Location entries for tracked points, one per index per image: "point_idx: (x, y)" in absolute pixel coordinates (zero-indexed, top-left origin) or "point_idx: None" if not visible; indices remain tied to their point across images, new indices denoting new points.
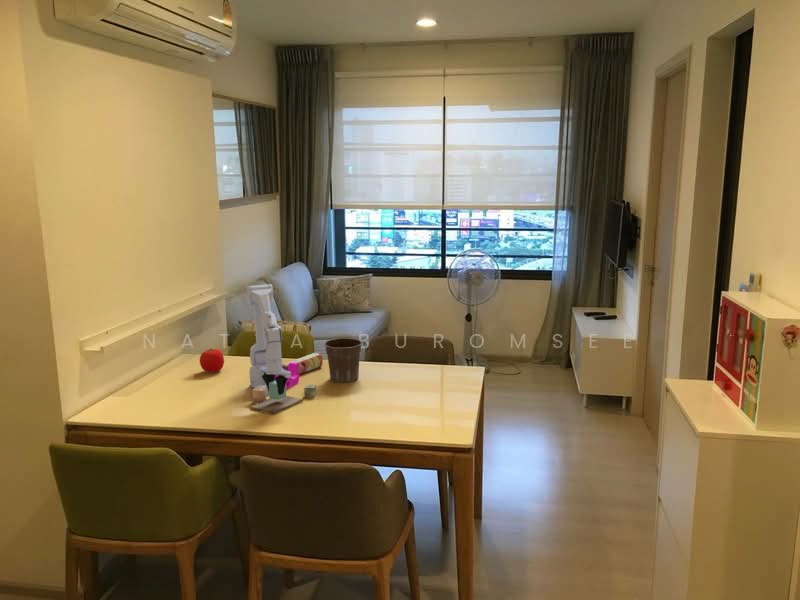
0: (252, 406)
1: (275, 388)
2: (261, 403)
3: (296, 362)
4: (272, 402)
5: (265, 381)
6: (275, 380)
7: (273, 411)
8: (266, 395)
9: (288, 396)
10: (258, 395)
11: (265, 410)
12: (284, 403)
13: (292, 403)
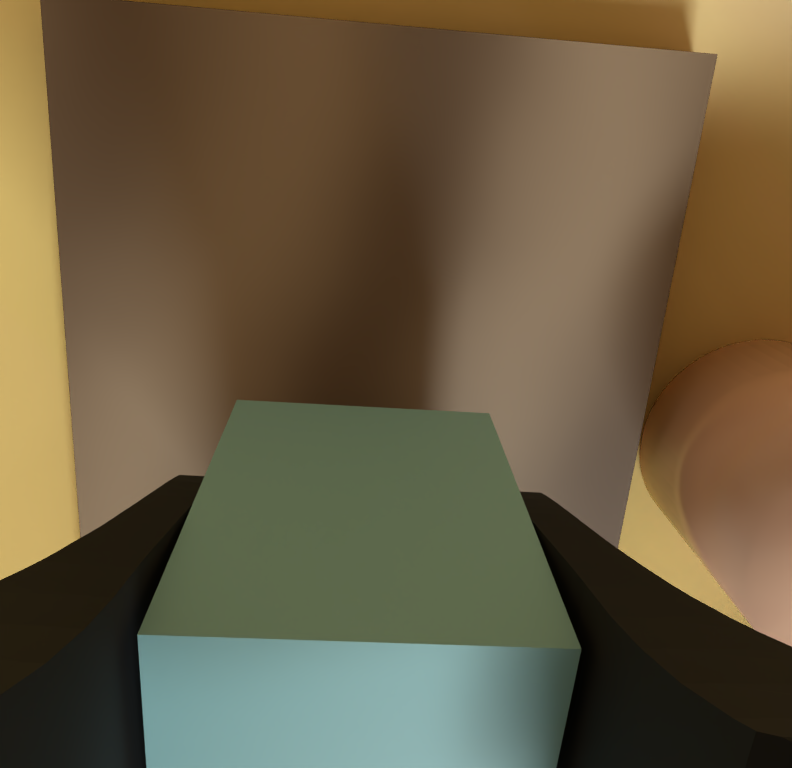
0: (680, 80)
1: (274, 539)
2: (606, 295)
3: None
4: None
5: (722, 636)
6: (19, 679)
7: (75, 23)
8: None
9: None
10: (784, 410)
11: (287, 16)
12: None
13: (87, 524)
